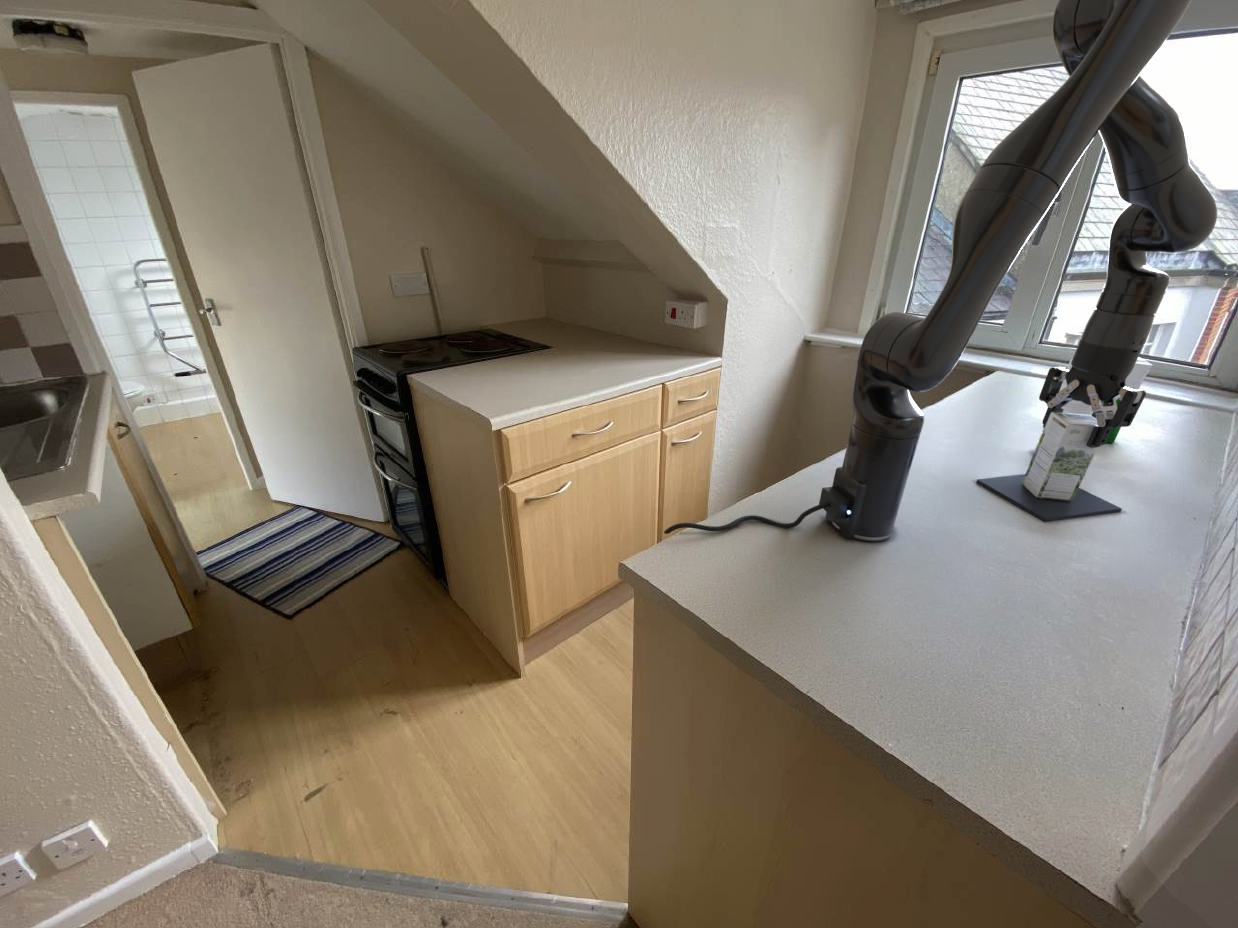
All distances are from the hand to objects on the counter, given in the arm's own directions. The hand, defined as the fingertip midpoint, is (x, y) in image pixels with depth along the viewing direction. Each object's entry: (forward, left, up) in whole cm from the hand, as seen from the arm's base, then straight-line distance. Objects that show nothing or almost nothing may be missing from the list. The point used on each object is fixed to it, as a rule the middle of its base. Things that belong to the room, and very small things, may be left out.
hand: (1070, 437), depth 90 cm
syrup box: (0, 0, -11) cm, 11 cm away
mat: (0, 0, -12) cm, 12 cm away
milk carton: (+36, +21, -12) cm, 43 cm away
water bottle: (+16, +14, -12) cm, 24 cm away
